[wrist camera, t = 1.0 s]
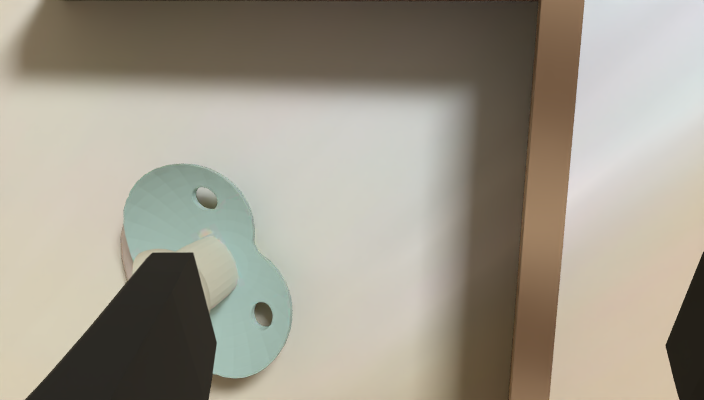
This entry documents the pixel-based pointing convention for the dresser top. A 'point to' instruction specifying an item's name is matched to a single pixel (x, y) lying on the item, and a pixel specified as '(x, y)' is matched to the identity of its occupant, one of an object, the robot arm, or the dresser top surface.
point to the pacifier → (212, 260)
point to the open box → (540, 191)
